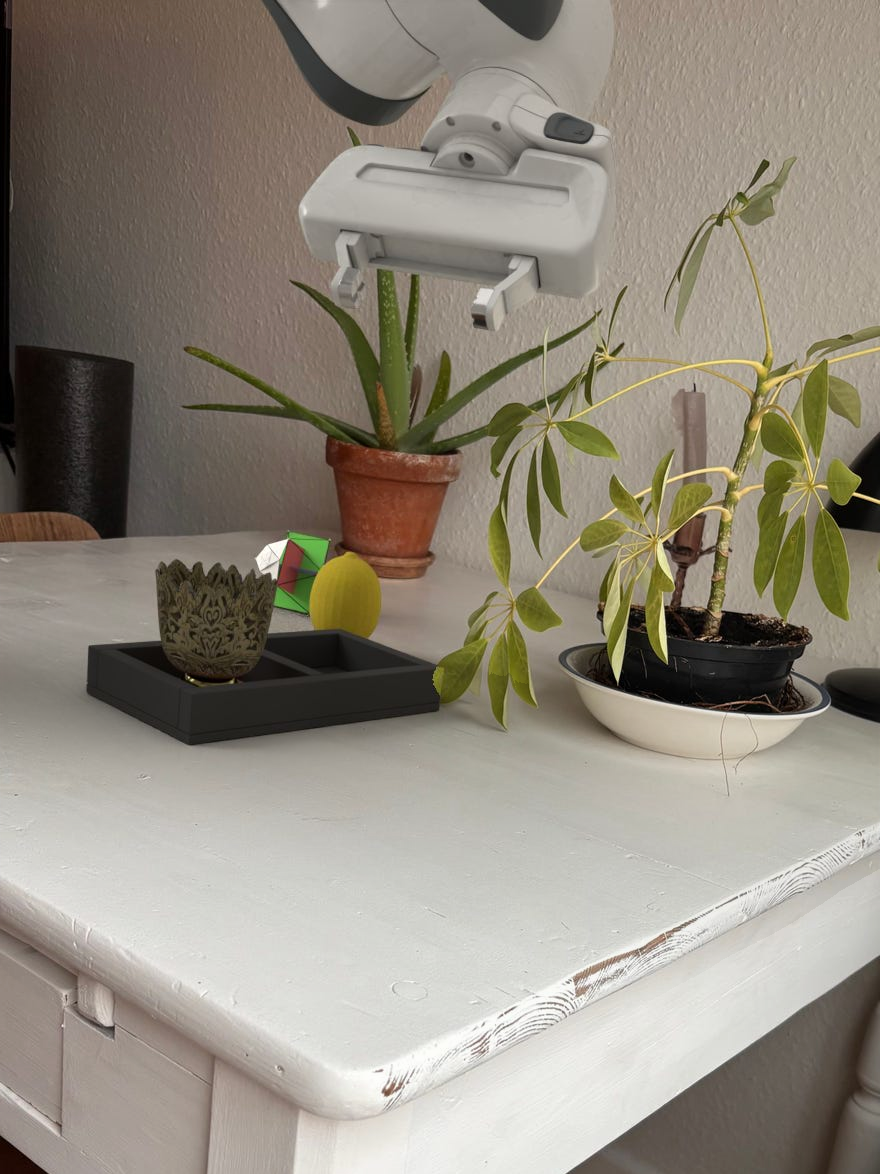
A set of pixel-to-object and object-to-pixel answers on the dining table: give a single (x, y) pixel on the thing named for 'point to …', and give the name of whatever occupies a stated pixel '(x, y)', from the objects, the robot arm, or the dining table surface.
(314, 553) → the geometric puzzle
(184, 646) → the cup
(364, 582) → the lemon
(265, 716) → the tray
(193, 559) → the dining table surface
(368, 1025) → the dining table surface
